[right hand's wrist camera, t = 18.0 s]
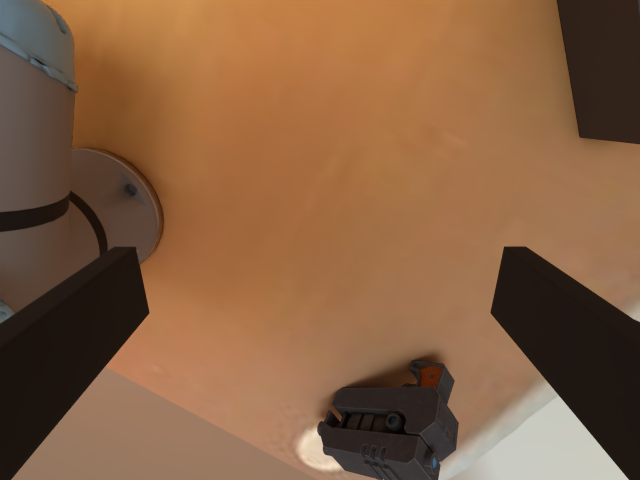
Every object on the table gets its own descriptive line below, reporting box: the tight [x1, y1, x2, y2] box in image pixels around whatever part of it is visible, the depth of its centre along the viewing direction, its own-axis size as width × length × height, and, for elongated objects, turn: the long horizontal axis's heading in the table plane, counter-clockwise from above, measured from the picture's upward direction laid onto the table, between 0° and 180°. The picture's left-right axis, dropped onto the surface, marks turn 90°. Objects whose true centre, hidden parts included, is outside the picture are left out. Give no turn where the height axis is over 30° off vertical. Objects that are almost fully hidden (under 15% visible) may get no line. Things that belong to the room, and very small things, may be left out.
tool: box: [317, 361, 459, 480], centre depth 47 cm, size 6×19×15 cm, turn 123°
